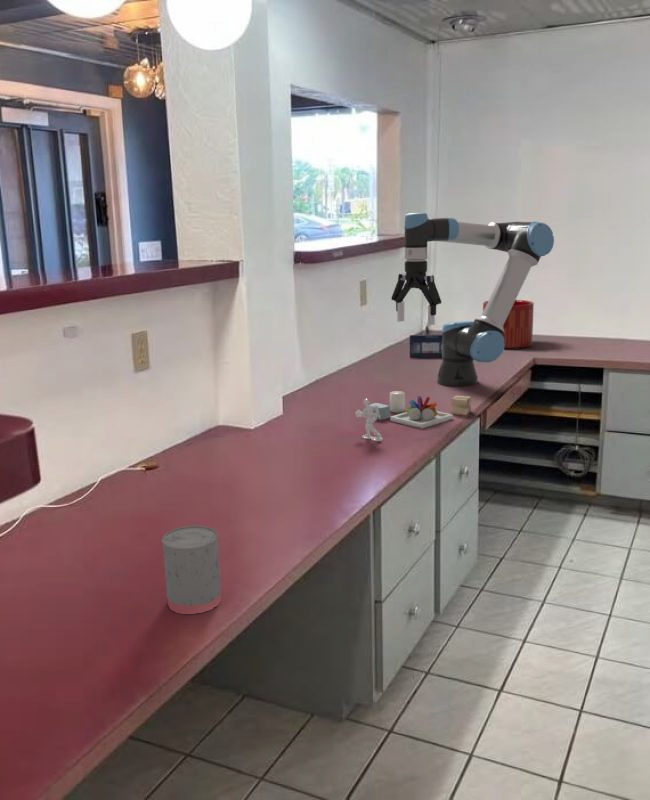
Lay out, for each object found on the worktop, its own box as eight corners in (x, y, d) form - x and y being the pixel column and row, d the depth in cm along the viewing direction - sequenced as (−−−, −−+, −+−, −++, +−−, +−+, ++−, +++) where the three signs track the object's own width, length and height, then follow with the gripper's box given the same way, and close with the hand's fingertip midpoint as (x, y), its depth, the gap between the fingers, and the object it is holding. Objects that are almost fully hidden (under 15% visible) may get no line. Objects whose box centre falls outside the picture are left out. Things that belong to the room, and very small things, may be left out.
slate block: (376, 414, 256) (376, 402, 256) (389, 418, 252) (389, 405, 251) (367, 416, 254) (367, 404, 253) (381, 420, 250) (380, 408, 249)
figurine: (379, 442, 226) (378, 402, 223) (351, 438, 231) (350, 398, 228) (386, 438, 230) (386, 398, 227) (359, 434, 235) (358, 395, 232)
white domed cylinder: (396, 407, 264) (396, 390, 262) (408, 410, 260) (408, 392, 259) (386, 410, 260) (386, 393, 259) (397, 413, 257) (397, 395, 255)
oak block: (455, 410, 259) (456, 395, 258) (470, 411, 257) (470, 396, 256) (451, 413, 255) (451, 398, 254) (465, 415, 253) (466, 400, 251)
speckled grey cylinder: (193, 583, 145) (189, 521, 142) (233, 597, 140) (229, 533, 137) (155, 605, 137) (150, 540, 134) (195, 620, 132) (190, 553, 129)
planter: (475, 342, 379) (476, 300, 374) (521, 340, 382) (523, 298, 377) (490, 350, 357) (492, 306, 352) (539, 348, 359) (541, 304, 354)
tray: (421, 411, 258) (421, 407, 257) (452, 418, 249) (452, 414, 248) (390, 420, 248) (390, 416, 248) (421, 428, 239) (422, 424, 238)
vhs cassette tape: (409, 358, 346) (409, 335, 344) (409, 356, 349) (409, 334, 346) (451, 358, 344) (451, 335, 341) (451, 356, 347) (451, 334, 344)
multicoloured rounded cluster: (436, 422, 243) (436, 399, 241) (405, 421, 245) (405, 399, 243) (438, 415, 251) (438, 393, 249) (408, 414, 253) (408, 392, 251)
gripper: (381, 259, 270) (381, 320, 275) (437, 262, 252) (437, 327, 257) (395, 258, 275) (396, 318, 280) (452, 260, 257) (451, 325, 262)
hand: (415, 323), depth 268 cm, fingers open, 13 cm apart
